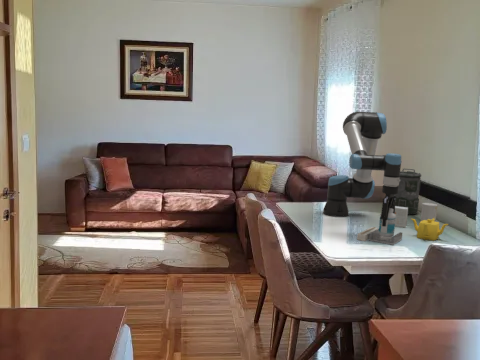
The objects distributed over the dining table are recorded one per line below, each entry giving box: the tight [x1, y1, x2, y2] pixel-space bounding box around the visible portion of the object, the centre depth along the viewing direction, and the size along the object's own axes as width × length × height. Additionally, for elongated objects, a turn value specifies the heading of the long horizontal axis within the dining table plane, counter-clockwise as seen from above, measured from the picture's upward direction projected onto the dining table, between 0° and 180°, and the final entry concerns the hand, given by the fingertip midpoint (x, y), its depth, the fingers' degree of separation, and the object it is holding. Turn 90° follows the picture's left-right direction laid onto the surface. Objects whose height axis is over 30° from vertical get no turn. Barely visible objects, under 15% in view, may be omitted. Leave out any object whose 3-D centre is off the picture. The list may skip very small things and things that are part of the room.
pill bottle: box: [378, 208, 396, 237], centre depth 265 cm, size 8×7×14 cm
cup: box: [420, 202, 438, 222], centre depth 308 cm, size 8×8×12 cm
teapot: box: [411, 218, 449, 242], centre depth 276 cm, size 15×14×10 cm
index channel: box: [368, 229, 403, 246], centre depth 266 cm, size 12×14×4 cm
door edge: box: [356, 226, 379, 242], centre depth 271 cm, size 4×20×3 cm, turn 147°
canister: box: [394, 167, 422, 215], centre depth 341 cm, size 16×16×28 cm
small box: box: [395, 206, 409, 228], centre depth 301 cm, size 8×6×10 cm
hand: (386, 231), depth 266 cm, fingers closed on pill bottle, 7 cm apart
